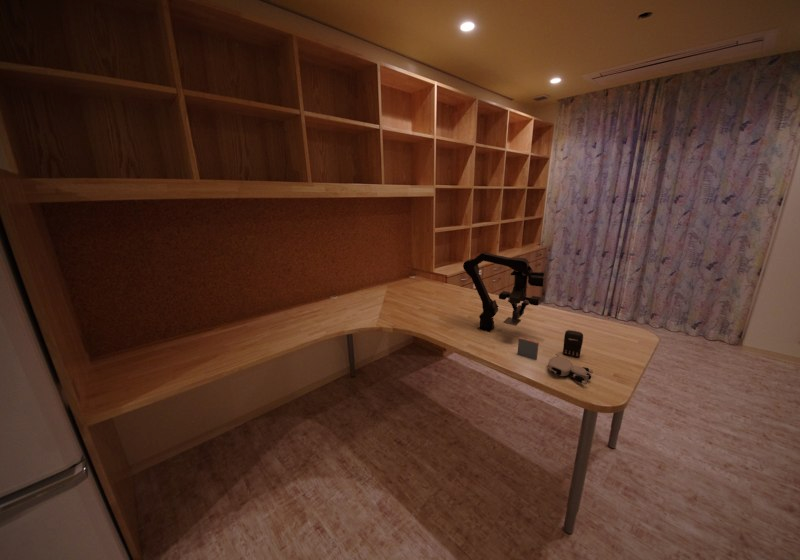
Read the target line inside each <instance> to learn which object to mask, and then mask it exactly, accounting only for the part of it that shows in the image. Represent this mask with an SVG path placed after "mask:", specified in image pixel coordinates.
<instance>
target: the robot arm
mask: <svg viewBox="0 0 800 560" xmlns="http://www.w3.org/2000/svg"><path fill="white" fill-rule="evenodd" d="M483 262H487V263H490V264H496V265H499V266H506V267H508V268H510V269H512V270H513V271H511V272H510V276H514V281H513V282H514V283H513V287H512V291H511V292H510V291H506V290H505V291H504V290H503V291H502V292H500V293H499V295H498V299H499V300H504V301H505V300H507V303H510V305H511V306H512V311H514V310H515V309H516V308H517V307H518V304H519V305H521V312H520V315H522V313H523V311H524V312H525V310H526V307H527V306H529V305H531V306H539V305H540V304H541V303H542V298H541V297H540V296H536V295H532V296H530V297H528V296H527V290H528V285H529V286H531V287H533V286H534V287H541V288H544V287H545V281H546V278H545V271H534V270H533V268H532V267H531V265H530V263H529V262H530V261H529V260H528V258H525V257H508V256H503V255H497V254H494V253H489V252H486V251H483V252H481V253H480V254H479V255H478V256H475V257H474V258H469V259H467V260H466V261H465V262H464V263H463V265H462V268H463V270H464V271H465V273H466V275H468V276H469V277H470V278H471V281H472V283H473V285H474V287H475V290H476V292H477V294H478V296H479V299H480V300H481V304H482V312H481V313H480V314H479V315H478V316H479V317H478V318H479V326H478V330H482V331H486V332H491V331H492V330H493V329H494V328H495V321H494V319H495V318H494V317H495V316H496V314H498V311H499V305H498V304H497V300H496V299H494V300H493V299H491V297H490V295H489V293H488V290H487V288H486V286H485V284H484V281H483V279H482V276H481V275H480V267H479V264H481V263H483ZM522 316H523V315H522Z"/></svg>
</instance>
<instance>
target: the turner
mask: <svg viewBox="0 0 800 560" xmlns="http://www.w3.org/2000/svg"><path fill="white" fill-rule="evenodd" d="M521 306H522V305H521V304H519V305H517V308H516V309H515V310H512V315H511V316H512V317H511V316H508V317H507V318H506V319H505V320H504V321H502V323H503V324H506V325H510V326H515V327H517V326H518V324H519V323H521V322H522V319H520V318H521V317H522V316H523V315H524V314H525V310H524V311H523V313H522V315H520V312H521Z"/></svg>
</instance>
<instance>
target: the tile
mask: <svg viewBox="0 0 800 560" xmlns="http://www.w3.org/2000/svg"><path fill="white" fill-rule="evenodd" d="M539 343H540V342H539V341H535V340H532V339H527V338H525V337H521V336H519V337H518V344H517V345H518V346H517V355H518V354H519V356H522V357H525V358H528V359H533V360H534V361H536V360H538V355H539V354H538V352H539V345H540V344H539Z"/></svg>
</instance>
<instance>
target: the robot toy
mask: <svg viewBox="0 0 800 560" xmlns="http://www.w3.org/2000/svg"><path fill="white" fill-rule="evenodd" d="M545 367H546V368H547V369H548V371H550V373H553V374H554V375H555V376H559V377H566V376H570V377H571V378H574V379H575V381H576V382H578V383H580V384H583V386H584V385H586V386H587V385H588V381H590V380H591V379H592V376H591V374H593V373H594V371H593V370H592V368H591V369H589V367H585V366H582V367H581V366H578V365H573V363H572V362H571V360H570V359H568V358H565V357H563V356H560V355H558V354H557V353H555V356H553V357H551V358H550V359H549V360H548V363H547V365H545Z"/></svg>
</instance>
